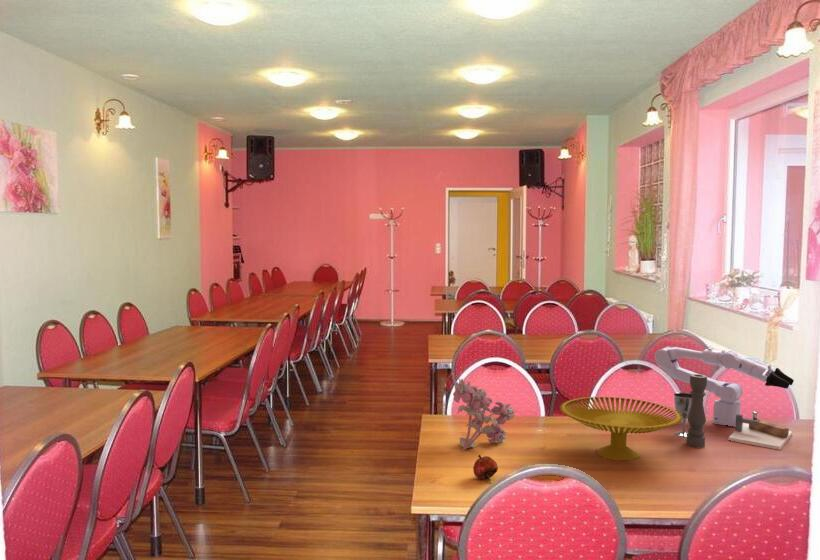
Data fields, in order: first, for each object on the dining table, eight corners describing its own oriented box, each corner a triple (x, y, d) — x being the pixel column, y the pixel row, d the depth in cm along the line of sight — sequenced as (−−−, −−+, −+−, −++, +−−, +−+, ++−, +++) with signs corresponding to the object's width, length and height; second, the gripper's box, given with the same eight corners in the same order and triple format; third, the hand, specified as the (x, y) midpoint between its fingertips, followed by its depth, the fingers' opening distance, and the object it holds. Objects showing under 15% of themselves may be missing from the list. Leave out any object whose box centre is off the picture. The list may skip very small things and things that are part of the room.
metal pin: (750, 419, 270) (751, 412, 269) (752, 418, 271) (752, 410, 271) (757, 420, 268) (758, 413, 268) (759, 419, 270) (759, 411, 270)
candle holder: (706, 448, 250) (709, 378, 248) (687, 446, 251) (691, 377, 249) (702, 442, 256) (706, 374, 254) (684, 441, 257) (687, 373, 255)
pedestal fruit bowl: (595, 480, 218) (597, 432, 217) (538, 440, 257) (539, 399, 255) (707, 469, 229) (710, 423, 227) (636, 432, 267) (637, 393, 266)
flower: (509, 456, 234) (520, 383, 242) (442, 445, 238) (454, 372, 246) (509, 464, 252) (519, 395, 260) (447, 453, 256) (458, 385, 265)
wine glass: (670, 435, 264) (672, 396, 263) (673, 430, 271) (675, 391, 270) (693, 439, 260) (695, 398, 259) (696, 433, 267) (698, 394, 266)
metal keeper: (735, 430, 267) (736, 415, 266) (736, 429, 268) (737, 414, 268) (757, 434, 262) (757, 418, 262) (758, 433, 264) (759, 417, 263)
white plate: (728, 440, 259) (728, 437, 259) (743, 426, 277) (743, 423, 277) (780, 449, 249) (780, 446, 249) (791, 434, 267) (792, 431, 267)
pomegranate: (500, 487, 217) (491, 459, 224) (503, 474, 212) (494, 446, 219) (477, 491, 216) (468, 463, 223) (479, 478, 211) (470, 450, 218)
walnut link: (746, 427, 271) (746, 419, 271) (753, 425, 273) (753, 418, 272) (782, 437, 258) (782, 429, 258) (789, 436, 260) (789, 428, 259)
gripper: (752, 362, 267) (790, 377, 259) (761, 357, 278) (798, 371, 270) (745, 379, 268) (783, 395, 261) (755, 373, 280) (791, 388, 272)
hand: (790, 384), depth 265 cm, fingers open, 7 cm apart
